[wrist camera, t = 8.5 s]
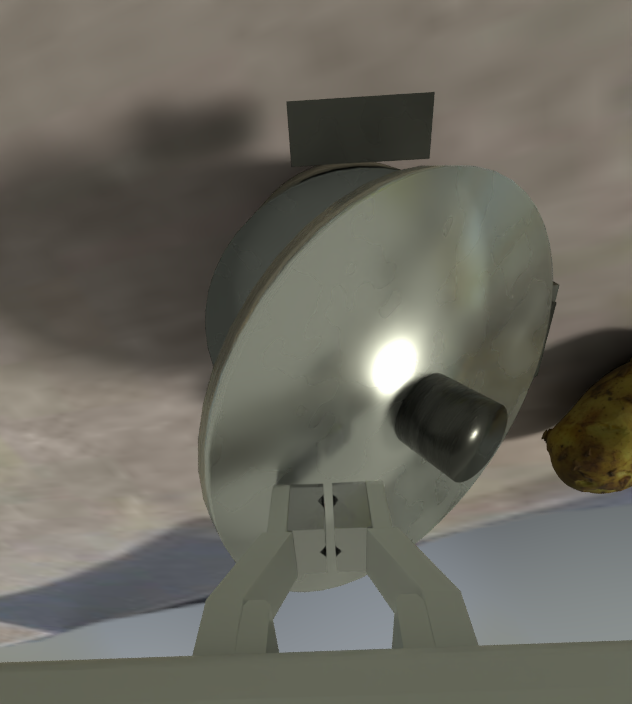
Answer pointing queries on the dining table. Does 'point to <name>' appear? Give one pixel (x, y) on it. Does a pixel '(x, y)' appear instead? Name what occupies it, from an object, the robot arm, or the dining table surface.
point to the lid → (380, 354)
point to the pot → (318, 185)
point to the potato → (596, 437)
